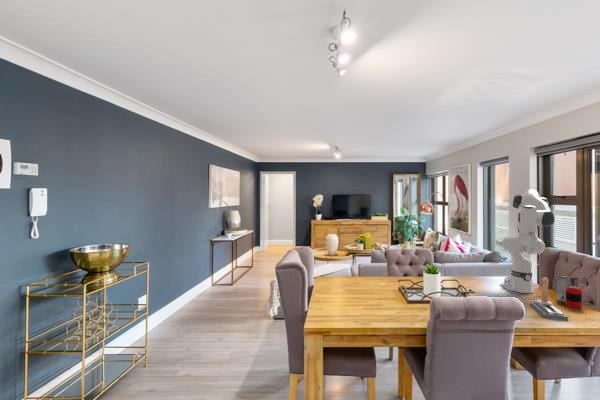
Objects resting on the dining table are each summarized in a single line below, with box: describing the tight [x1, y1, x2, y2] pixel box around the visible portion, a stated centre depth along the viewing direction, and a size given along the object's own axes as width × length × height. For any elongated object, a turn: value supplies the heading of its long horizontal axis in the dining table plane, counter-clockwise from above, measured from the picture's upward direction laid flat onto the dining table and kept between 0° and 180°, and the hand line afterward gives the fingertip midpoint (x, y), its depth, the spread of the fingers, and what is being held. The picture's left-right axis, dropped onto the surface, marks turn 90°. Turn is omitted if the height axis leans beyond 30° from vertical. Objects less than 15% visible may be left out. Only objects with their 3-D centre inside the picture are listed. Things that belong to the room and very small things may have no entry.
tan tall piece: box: [536, 277, 553, 307], centre depth 190 cm, size 5×6×17 cm
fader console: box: [529, 299, 569, 321], centre depth 185 cm, size 22×11×4 cm, turn 161°
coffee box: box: [556, 275, 579, 303], centre depth 206 cm, size 9×6×16 cm
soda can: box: [564, 286, 583, 309], centre depth 196 cm, size 8×8×12 cm
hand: (527, 253), depth 197 cm, fingers open, 8 cm apart
